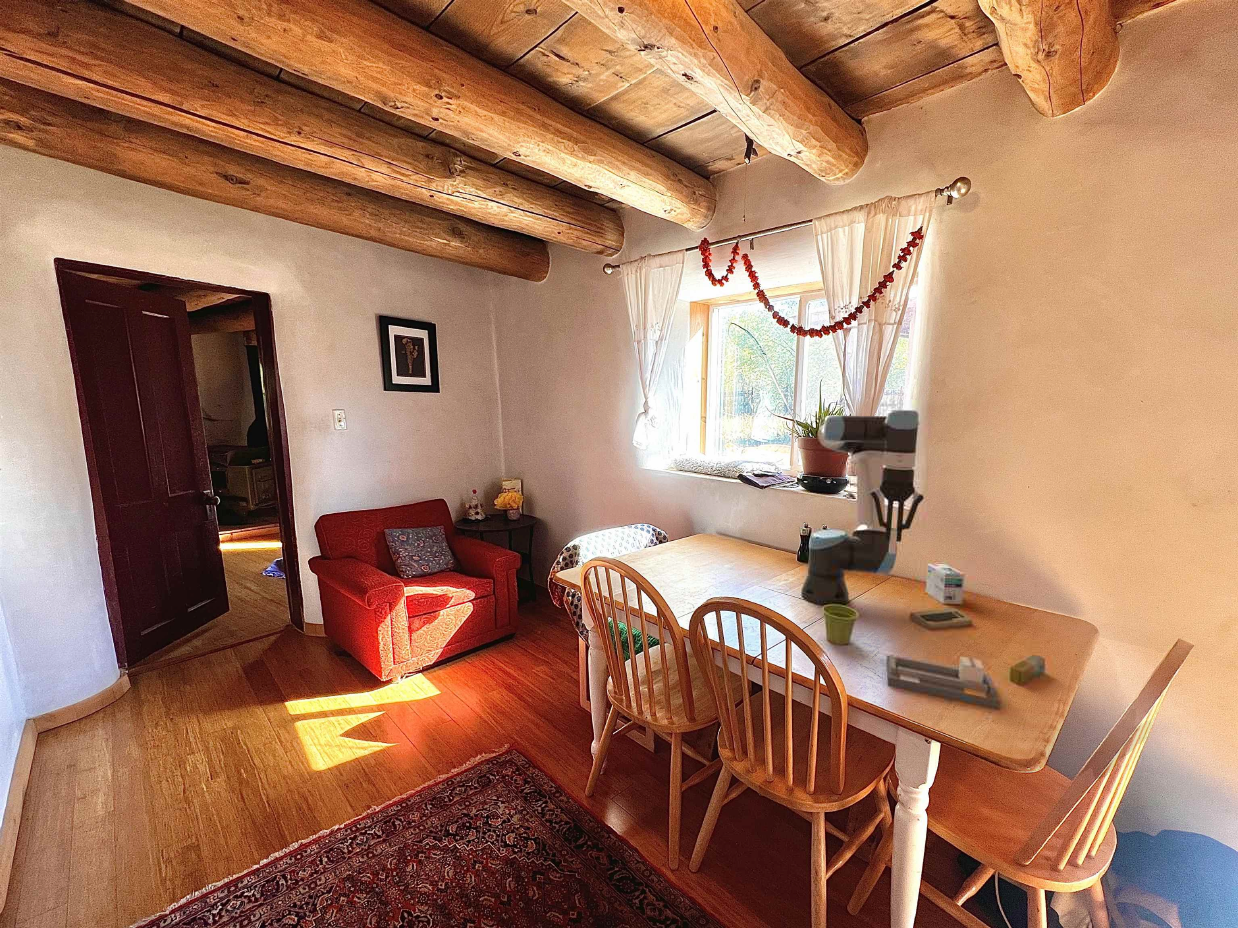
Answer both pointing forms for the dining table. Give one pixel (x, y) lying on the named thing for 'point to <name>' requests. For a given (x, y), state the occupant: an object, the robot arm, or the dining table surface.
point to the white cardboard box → (970, 670)
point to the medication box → (1027, 670)
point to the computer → (940, 618)
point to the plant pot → (839, 623)
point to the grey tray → (940, 681)
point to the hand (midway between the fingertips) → (892, 552)
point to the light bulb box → (945, 583)
